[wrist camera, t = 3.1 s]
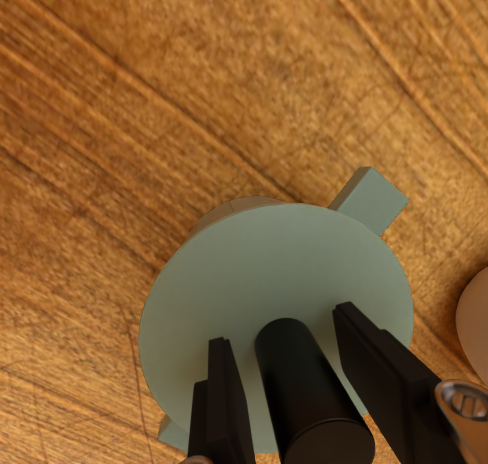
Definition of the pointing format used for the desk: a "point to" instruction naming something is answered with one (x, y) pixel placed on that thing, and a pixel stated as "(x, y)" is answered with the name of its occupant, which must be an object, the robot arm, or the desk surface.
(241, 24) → the desk surface
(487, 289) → the decorative egg
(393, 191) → the pot
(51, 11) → the desk surface
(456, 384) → the robot arm
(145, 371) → the lid
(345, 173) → the desk surface
